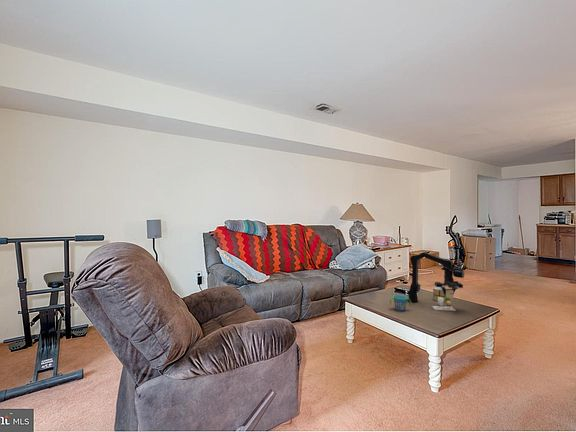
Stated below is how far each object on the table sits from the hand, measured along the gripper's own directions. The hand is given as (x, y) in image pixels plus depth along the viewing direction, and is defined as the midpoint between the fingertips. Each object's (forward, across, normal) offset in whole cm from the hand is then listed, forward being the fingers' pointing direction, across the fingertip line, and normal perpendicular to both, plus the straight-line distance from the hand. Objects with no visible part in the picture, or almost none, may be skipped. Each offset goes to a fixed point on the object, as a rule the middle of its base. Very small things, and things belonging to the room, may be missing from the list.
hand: (448, 295), depth 217 cm
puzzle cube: (+11, +2, +22) cm, 25 cm away
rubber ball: (+10, +3, +9) cm, 14 cm away
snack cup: (+11, -37, -6) cm, 39 cm away
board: (+10, -4, 0) cm, 11 cm away
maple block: (+1, 0, 0) cm, 1 cm away
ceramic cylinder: (+10, -3, +9) cm, 14 cm away
